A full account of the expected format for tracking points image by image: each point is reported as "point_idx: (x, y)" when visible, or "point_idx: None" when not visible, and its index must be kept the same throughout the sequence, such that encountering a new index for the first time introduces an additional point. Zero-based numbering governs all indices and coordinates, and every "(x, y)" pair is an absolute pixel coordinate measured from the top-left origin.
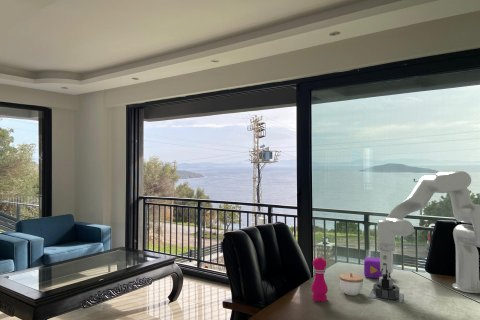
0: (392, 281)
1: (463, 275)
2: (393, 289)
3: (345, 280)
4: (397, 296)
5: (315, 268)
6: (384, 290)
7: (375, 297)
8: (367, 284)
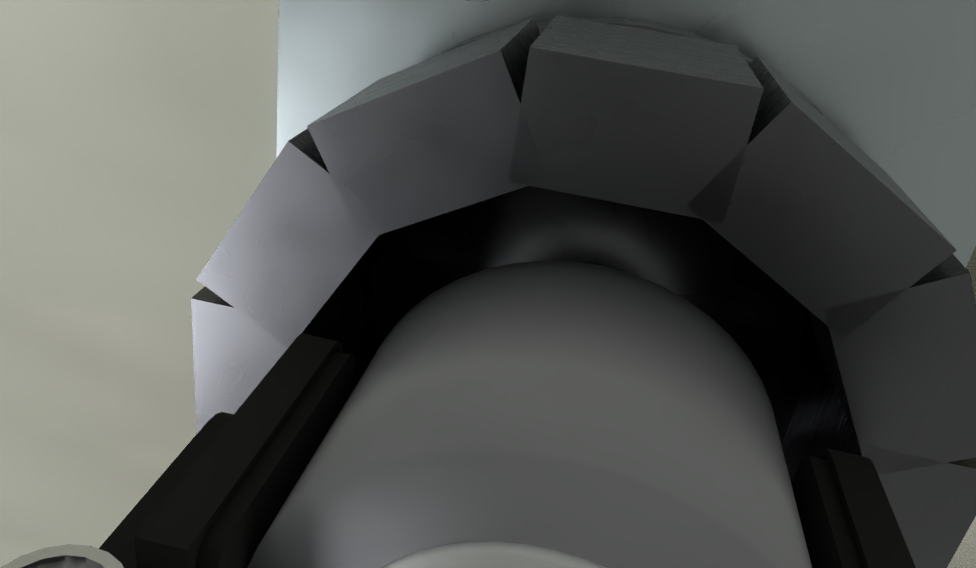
0: (686, 455)
1: None
2: (814, 289)
3: None
4: (808, 101)
5: None
6: (943, 548)
7: None
8: (13, 545)
